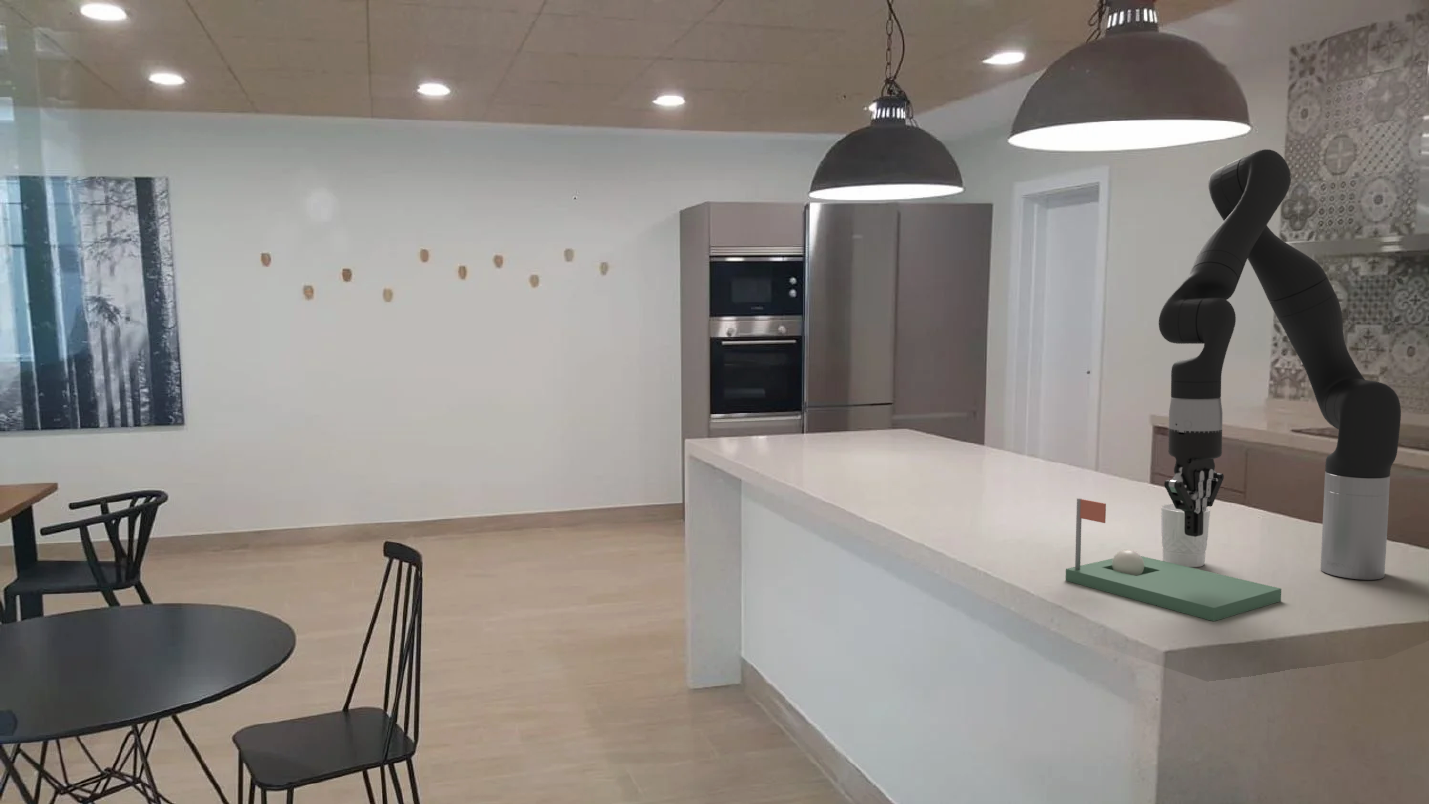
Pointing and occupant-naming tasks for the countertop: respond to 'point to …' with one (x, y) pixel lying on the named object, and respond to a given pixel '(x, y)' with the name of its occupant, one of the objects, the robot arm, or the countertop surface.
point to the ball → (1128, 562)
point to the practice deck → (1169, 581)
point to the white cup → (1182, 538)
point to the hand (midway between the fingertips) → (1193, 535)
